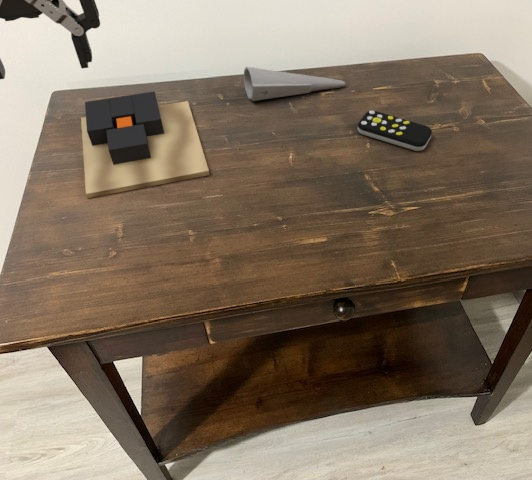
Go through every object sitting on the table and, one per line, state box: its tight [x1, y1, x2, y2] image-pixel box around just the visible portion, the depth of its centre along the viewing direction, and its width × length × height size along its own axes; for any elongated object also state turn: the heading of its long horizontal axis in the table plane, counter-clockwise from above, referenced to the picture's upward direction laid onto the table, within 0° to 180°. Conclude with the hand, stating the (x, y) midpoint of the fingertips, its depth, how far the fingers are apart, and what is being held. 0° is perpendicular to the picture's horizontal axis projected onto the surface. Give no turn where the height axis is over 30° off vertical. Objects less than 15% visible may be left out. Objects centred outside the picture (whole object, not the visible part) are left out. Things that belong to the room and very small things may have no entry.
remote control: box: [357, 110, 433, 152], centre depth 95 cm, size 6×13×2 cm, turn 64°
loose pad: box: [106, 116, 151, 164], centre depth 88 cm, size 6×8×3 cm
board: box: [80, 100, 210, 199], centre depth 91 cm, size 19×21×1 cm
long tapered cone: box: [243, 66, 346, 102], centre depth 104 cm, size 6×6×19 cm
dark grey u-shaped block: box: [84, 91, 164, 146], centre depth 93 cm, size 12×9×3 cm
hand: (44, 70), depth 58 cm, fingers open, 8 cm apart
